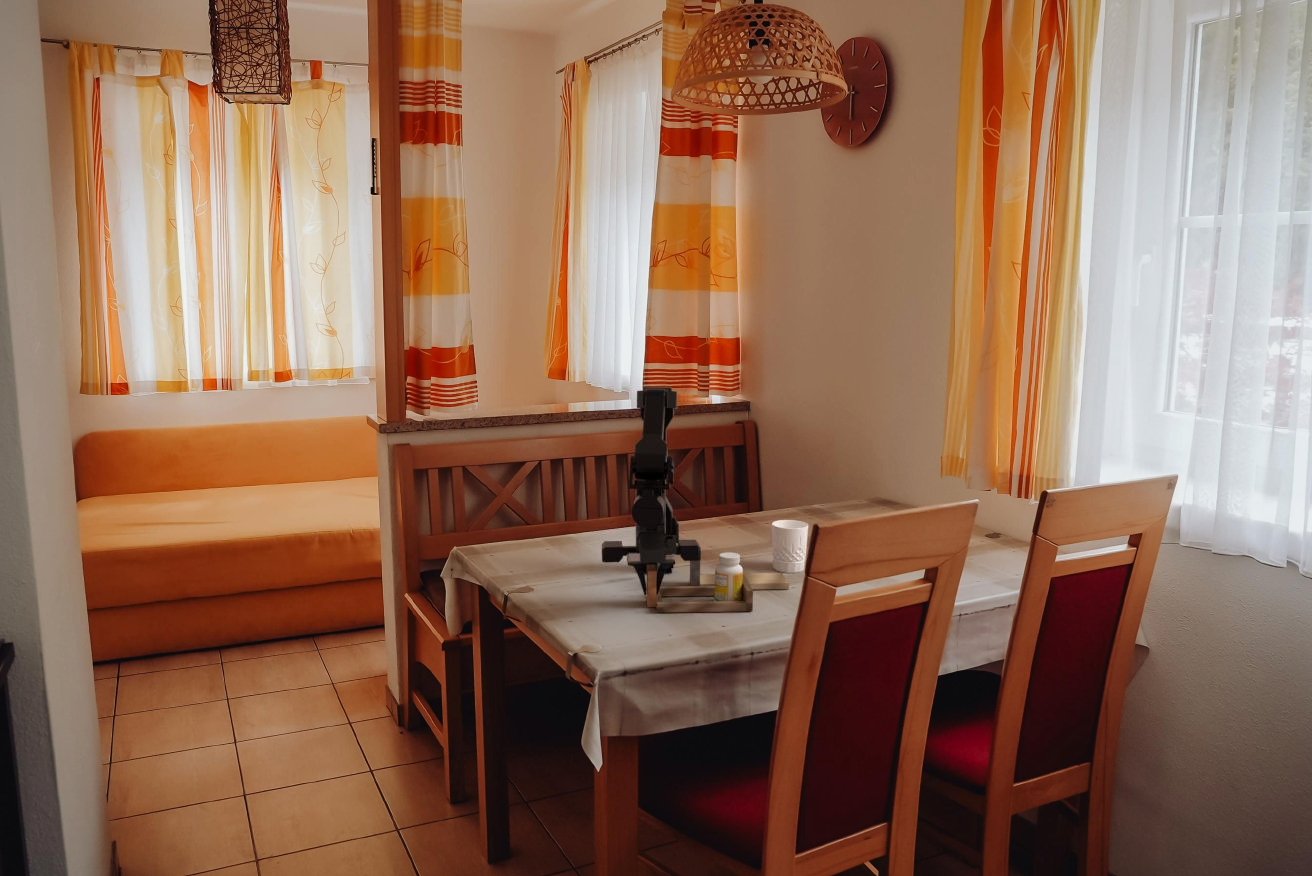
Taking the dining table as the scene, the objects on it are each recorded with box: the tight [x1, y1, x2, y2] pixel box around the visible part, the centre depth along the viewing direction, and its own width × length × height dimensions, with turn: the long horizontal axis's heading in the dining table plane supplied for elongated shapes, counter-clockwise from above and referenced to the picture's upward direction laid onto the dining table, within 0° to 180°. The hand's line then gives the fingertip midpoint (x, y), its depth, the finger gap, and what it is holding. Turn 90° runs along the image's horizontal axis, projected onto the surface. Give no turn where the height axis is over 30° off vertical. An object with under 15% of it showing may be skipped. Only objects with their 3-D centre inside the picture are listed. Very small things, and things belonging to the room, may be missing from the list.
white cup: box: [771, 519, 809, 574], centre depth 213 cm, size 8×8×10 cm
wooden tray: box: [646, 565, 754, 613], centre depth 189 cm, size 20×11×7 cm, turn 94°
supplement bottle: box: [713, 551, 744, 601], centre depth 189 cm, size 5×5×10 cm
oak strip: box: [689, 560, 790, 590], centre depth 201 cm, size 20×7×7 cm, turn 94°
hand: (650, 594), depth 188 cm, fingers closed
